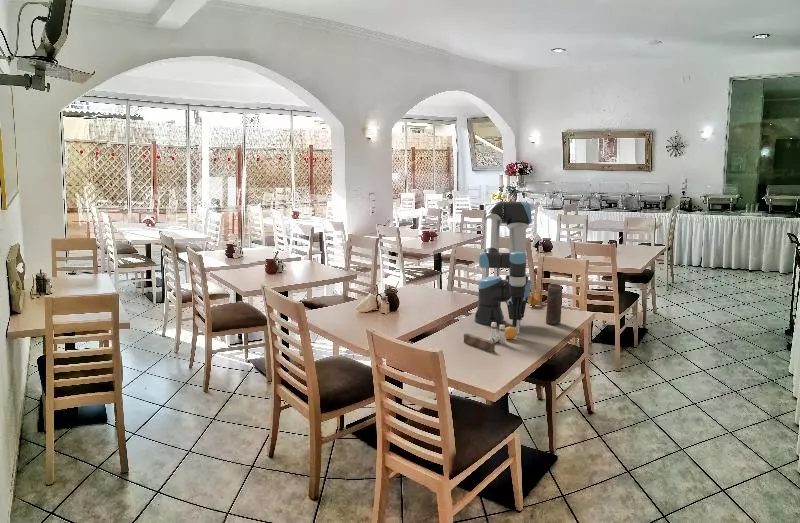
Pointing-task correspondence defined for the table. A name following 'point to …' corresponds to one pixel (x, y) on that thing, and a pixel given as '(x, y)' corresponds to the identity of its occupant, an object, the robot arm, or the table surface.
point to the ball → (510, 332)
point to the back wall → (479, 342)
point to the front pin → (494, 339)
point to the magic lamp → (534, 299)
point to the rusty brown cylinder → (554, 304)
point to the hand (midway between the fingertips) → (516, 333)
